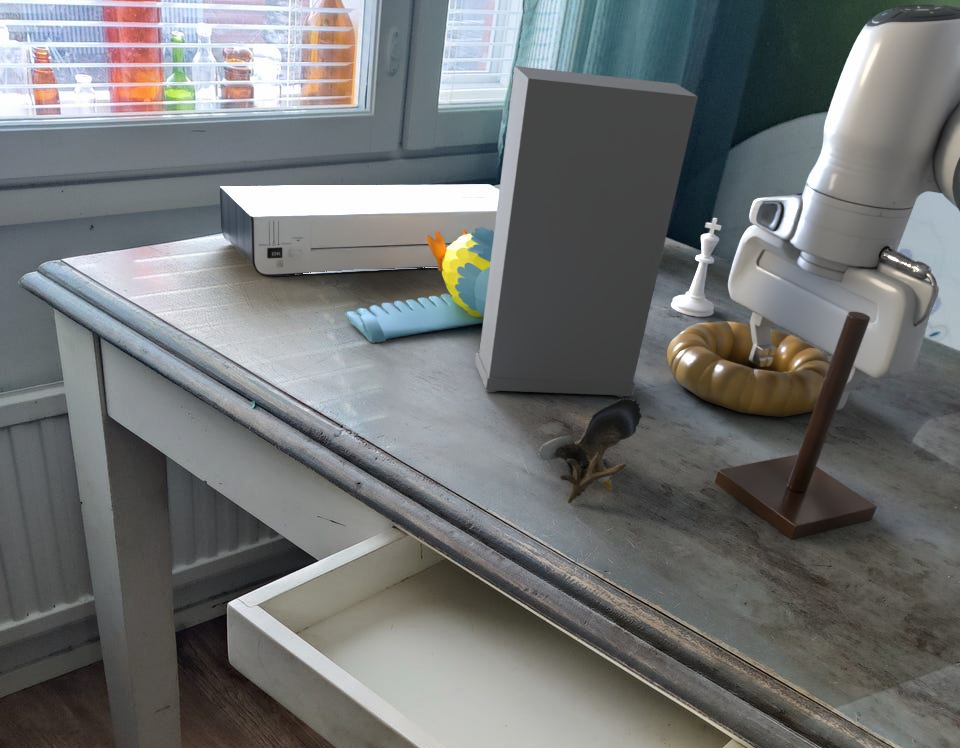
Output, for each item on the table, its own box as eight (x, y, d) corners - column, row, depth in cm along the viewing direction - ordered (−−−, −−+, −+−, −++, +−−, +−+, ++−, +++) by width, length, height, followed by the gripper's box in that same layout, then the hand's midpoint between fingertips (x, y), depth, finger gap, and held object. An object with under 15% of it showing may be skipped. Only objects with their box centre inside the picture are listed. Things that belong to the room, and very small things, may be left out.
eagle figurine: (646, 507, 73) (659, 437, 79) (609, 431, 69) (625, 362, 75) (554, 531, 77) (573, 462, 83) (514, 460, 73) (536, 392, 79)
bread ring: (749, 347, 106) (760, 310, 103) (860, 411, 95) (875, 372, 93) (632, 361, 99) (640, 322, 96) (738, 433, 88) (751, 391, 86)
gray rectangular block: (613, 371, 96) (674, 81, 81) (631, 398, 91) (700, 97, 76) (474, 365, 93) (510, 63, 78) (485, 393, 88) (526, 78, 73)
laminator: (483, 234, 126) (489, 183, 123) (531, 267, 118) (539, 213, 115) (221, 243, 112) (219, 185, 108) (256, 281, 104) (254, 220, 100)
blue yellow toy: (560, 204, 108) (648, 252, 99) (547, 283, 114) (629, 335, 105) (329, 216, 95) (406, 273, 86) (326, 305, 100) (398, 367, 91)
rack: (793, 466, 84) (855, 288, 75) (872, 519, 78) (950, 333, 69) (713, 482, 80) (769, 296, 71) (791, 539, 74) (863, 345, 65)
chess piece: (709, 320, 111) (734, 228, 105) (667, 310, 112) (689, 218, 106) (716, 307, 115) (740, 218, 109) (675, 297, 116) (697, 208, 110)
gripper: (971, 270, 78) (902, 430, 86) (790, 194, 91) (746, 339, 99) (919, 274, 75) (853, 439, 83) (739, 195, 88) (699, 344, 96)
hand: (794, 384), depth 91 cm, fingers open, 8 cm apart
